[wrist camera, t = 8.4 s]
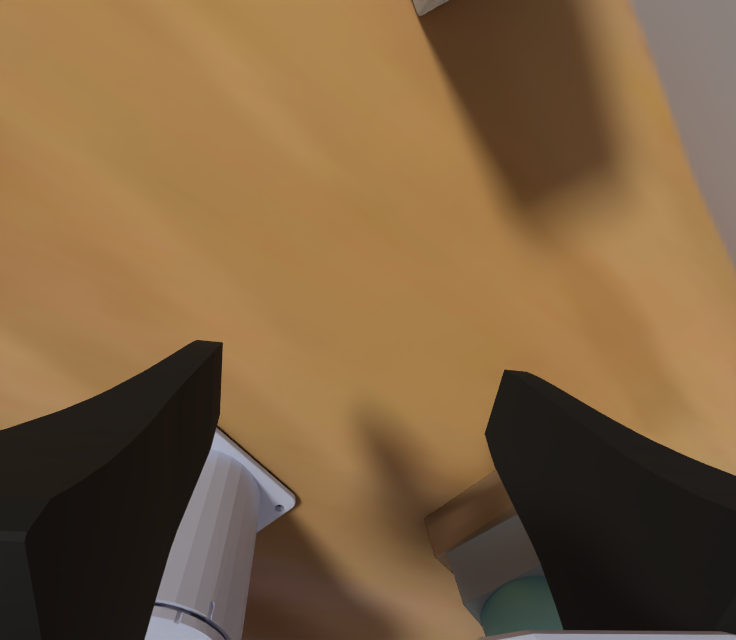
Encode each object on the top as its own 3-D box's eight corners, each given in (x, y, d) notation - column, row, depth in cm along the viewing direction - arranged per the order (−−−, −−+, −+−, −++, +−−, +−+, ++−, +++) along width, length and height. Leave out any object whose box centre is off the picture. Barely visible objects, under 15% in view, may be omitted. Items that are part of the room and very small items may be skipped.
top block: (487, 601, 27) (507, 655, 24) (447, 552, 25) (463, 604, 22) (563, 561, 26) (592, 611, 23) (527, 508, 24) (555, 556, 22)
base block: (476, 565, 30) (492, 609, 27) (423, 515, 28) (435, 557, 25) (553, 515, 29) (579, 555, 26) (505, 459, 27) (527, 496, 24)
